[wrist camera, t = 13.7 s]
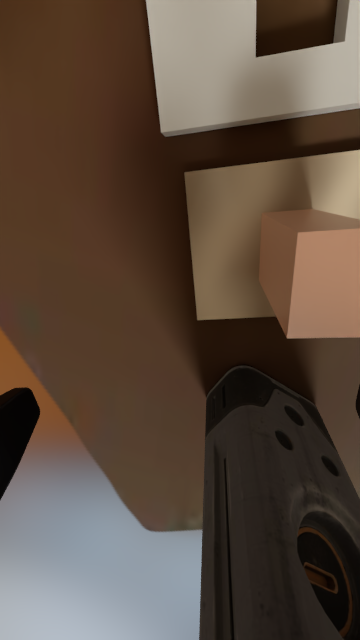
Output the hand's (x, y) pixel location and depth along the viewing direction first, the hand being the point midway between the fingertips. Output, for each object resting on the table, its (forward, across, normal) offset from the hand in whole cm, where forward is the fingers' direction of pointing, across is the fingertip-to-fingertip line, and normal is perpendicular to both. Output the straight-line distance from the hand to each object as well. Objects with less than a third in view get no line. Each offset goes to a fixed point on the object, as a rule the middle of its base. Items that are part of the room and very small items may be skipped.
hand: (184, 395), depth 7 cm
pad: (+13, -6, -1) cm, 14 cm away
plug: (+13, -6, -1) cm, 14 cm away
